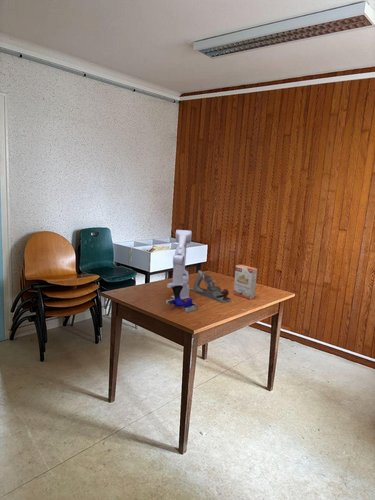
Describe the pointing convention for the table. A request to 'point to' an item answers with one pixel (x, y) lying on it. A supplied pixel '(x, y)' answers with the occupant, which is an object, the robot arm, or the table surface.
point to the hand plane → (210, 288)
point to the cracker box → (245, 281)
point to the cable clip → (179, 302)
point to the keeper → (188, 309)
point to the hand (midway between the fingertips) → (176, 297)
